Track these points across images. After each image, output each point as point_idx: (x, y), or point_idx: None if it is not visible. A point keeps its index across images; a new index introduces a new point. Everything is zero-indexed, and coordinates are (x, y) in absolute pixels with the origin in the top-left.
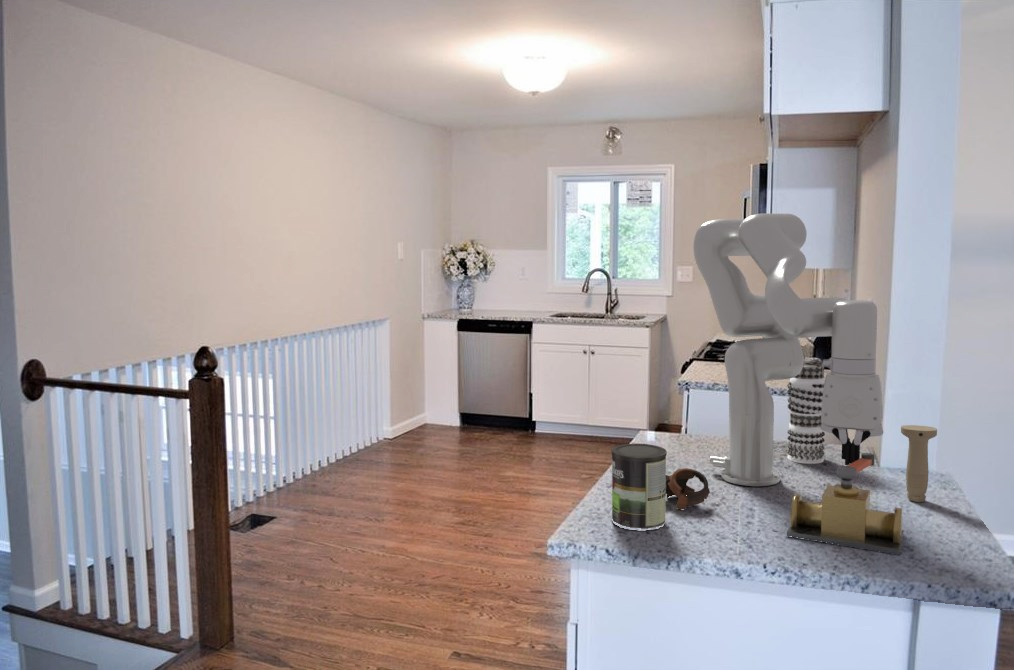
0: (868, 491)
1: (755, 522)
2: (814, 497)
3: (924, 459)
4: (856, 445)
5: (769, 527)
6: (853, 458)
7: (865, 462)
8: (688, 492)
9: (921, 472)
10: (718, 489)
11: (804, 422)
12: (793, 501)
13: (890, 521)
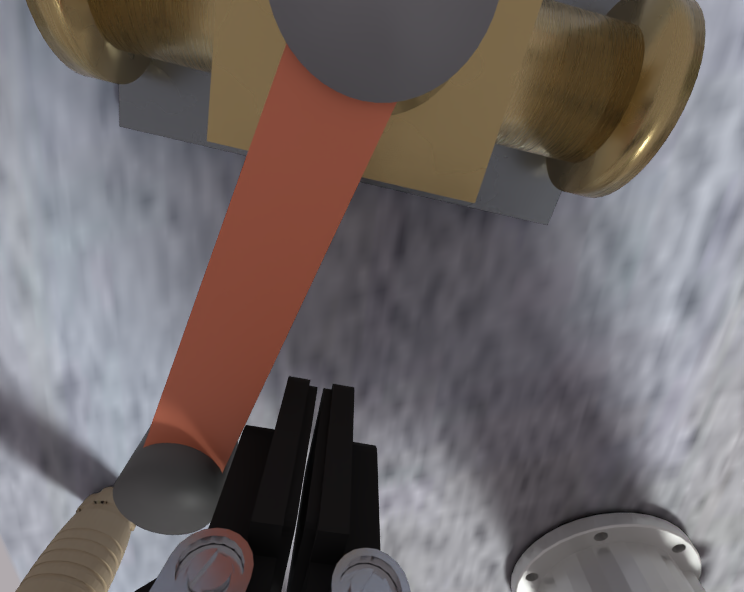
0: (215, 102)
1: (727, 142)
2: (428, 464)
3: None
4: (233, 541)
5: None
6: (285, 412)
7: (185, 342)
8: None
9: (31, 588)
10: (737, 470)
11: None
12: (694, 30)
13: None
